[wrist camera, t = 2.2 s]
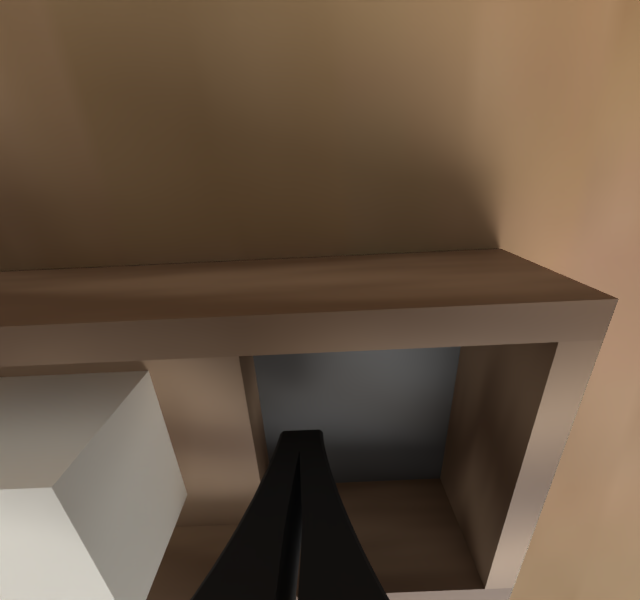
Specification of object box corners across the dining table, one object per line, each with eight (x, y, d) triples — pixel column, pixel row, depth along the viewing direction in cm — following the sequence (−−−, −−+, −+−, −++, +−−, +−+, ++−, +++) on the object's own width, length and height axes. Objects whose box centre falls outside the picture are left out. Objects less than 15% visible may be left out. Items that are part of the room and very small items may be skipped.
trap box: (455, 485, 15) (507, 602, 11) (-182, 512, 15) (-363, 638, 11) (500, 248, 11) (618, 299, 6) (-413, 290, 11) (-867, 366, 7)
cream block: (187, 494, 12) (133, 632, 9) (38, 501, 12) (-79, 640, 9) (148, 370, 10) (51, 487, 6) (-35, 378, 10) (-237, 499, 6)
